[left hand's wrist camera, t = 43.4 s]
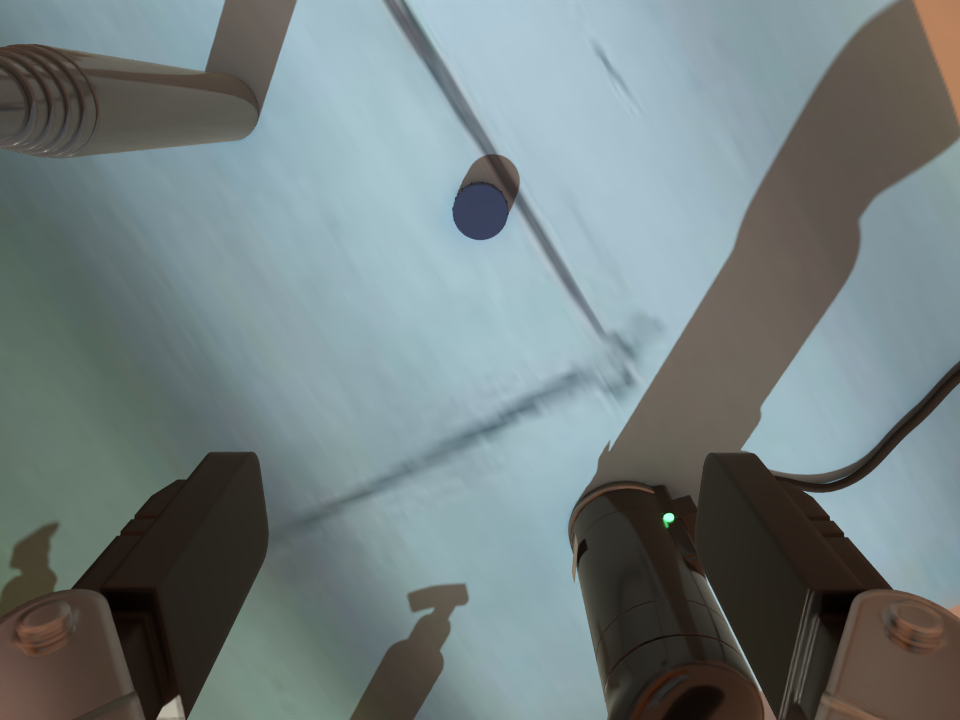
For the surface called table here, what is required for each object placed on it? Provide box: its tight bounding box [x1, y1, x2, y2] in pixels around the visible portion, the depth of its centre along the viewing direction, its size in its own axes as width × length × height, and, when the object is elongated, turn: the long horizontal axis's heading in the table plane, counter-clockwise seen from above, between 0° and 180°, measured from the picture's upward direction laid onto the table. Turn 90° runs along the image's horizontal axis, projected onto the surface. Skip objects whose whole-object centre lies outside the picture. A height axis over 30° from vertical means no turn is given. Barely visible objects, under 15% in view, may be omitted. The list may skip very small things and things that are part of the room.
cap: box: [452, 181, 508, 240], centre depth 46 cm, size 4×4×2 cm
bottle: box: [0, 44, 258, 158], centre depth 32 cm, size 4×4×25 cm
